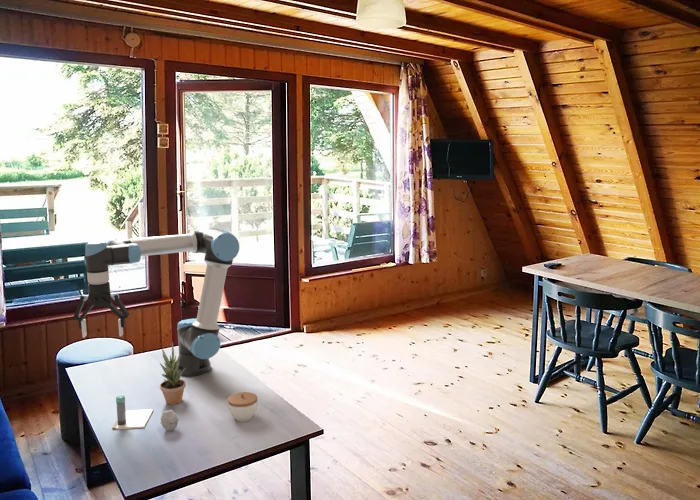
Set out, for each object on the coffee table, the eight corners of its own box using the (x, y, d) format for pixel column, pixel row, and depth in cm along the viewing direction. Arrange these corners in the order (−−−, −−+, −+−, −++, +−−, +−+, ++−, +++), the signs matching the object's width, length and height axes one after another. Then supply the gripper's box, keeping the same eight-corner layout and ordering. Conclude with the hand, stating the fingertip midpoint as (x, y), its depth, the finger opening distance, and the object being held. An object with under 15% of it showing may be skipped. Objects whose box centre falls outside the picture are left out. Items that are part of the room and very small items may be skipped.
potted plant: (163, 408, 226) (159, 346, 221) (159, 399, 234) (155, 339, 230) (190, 403, 230) (186, 342, 226) (184, 394, 239) (181, 335, 234)
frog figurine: (173, 423, 213) (172, 405, 212) (182, 430, 208) (181, 412, 207) (157, 429, 209) (156, 410, 208) (166, 436, 204) (165, 417, 203)
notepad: (153, 410, 224) (153, 409, 224) (144, 428, 210) (144, 426, 210) (123, 411, 223) (123, 410, 223) (112, 429, 209) (112, 427, 209)
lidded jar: (230, 411, 223) (229, 388, 221) (259, 410, 224) (258, 387, 222) (226, 425, 212) (225, 400, 211) (257, 423, 213) (256, 399, 211)
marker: (127, 421, 214) (125, 395, 212) (125, 425, 211) (123, 398, 209) (118, 421, 214) (117, 395, 212) (116, 425, 211) (114, 399, 209)
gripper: (135, 279, 229) (138, 331, 232) (68, 280, 226) (72, 333, 230) (130, 283, 221) (133, 337, 225) (60, 285, 219) (65, 340, 223)
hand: (103, 336), depth 228 cm, fingers open, 13 cm apart
